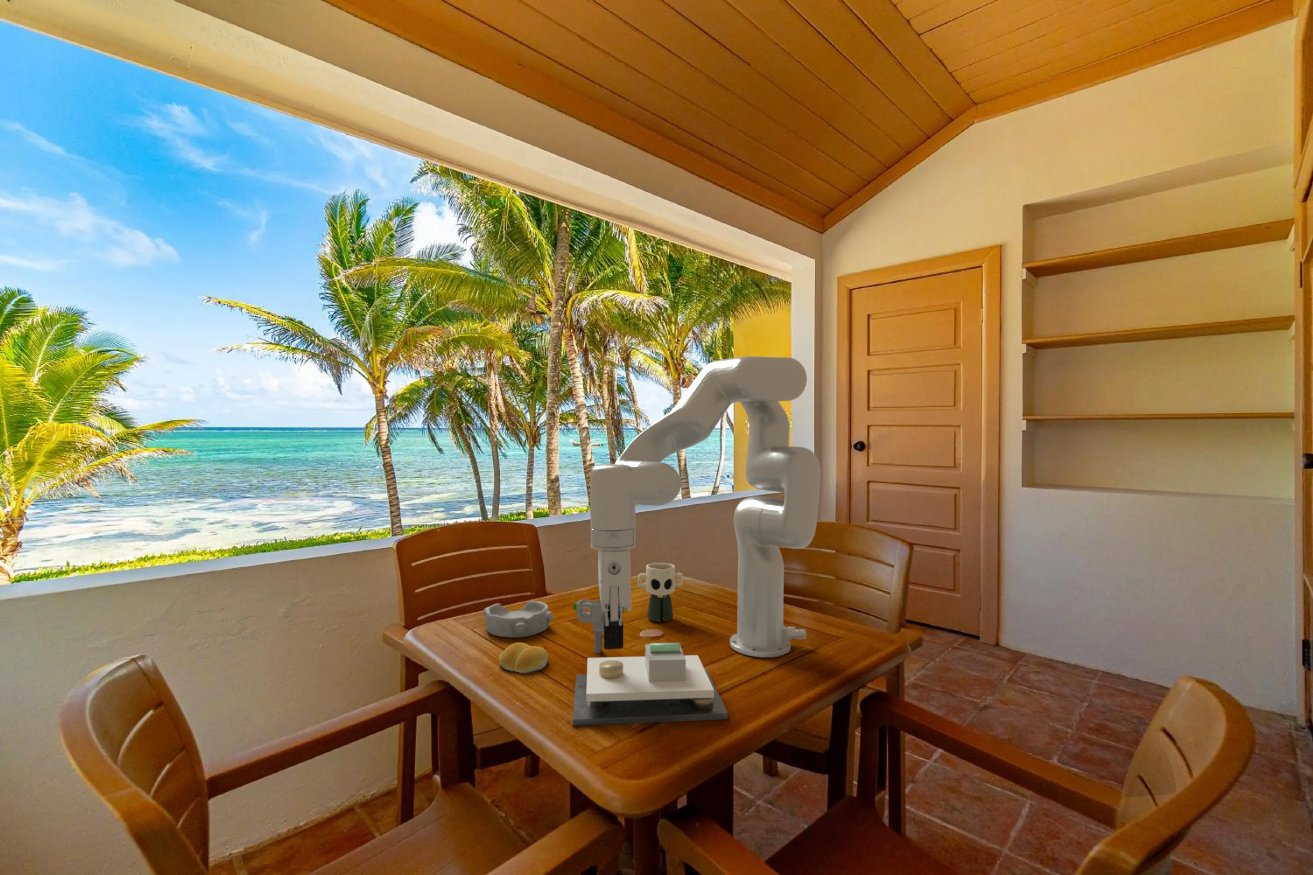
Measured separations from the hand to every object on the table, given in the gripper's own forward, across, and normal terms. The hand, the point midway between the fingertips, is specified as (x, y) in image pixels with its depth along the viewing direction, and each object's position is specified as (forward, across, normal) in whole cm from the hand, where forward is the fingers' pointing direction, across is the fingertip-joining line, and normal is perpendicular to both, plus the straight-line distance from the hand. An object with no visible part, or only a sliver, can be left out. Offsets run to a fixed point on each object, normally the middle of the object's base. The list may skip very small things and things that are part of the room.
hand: (613, 646), depth 93 cm
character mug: (+10, +40, -12) cm, 43 cm away
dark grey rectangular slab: (+9, 0, -6) cm, 10 cm away
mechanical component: (+9, +21, +2) cm, 23 cm away
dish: (+9, +36, +20) cm, 42 cm away
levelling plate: (+6, 0, -6) cm, 8 cm away
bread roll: (+9, +16, +17) cm, 25 cm away
